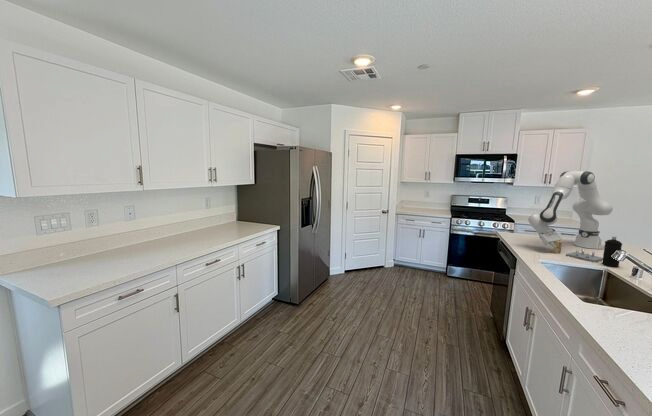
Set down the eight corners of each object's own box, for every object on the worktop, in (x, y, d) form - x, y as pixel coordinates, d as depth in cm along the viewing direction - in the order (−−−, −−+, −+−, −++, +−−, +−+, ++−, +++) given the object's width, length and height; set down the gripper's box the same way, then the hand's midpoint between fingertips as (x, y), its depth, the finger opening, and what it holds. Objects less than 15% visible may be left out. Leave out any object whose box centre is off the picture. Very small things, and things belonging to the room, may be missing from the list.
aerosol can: (616, 268, 176) (620, 238, 174) (599, 264, 183) (603, 236, 181) (621, 266, 180) (625, 237, 177) (604, 262, 187) (608, 234, 185)
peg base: (575, 253, 208) (576, 247, 208) (604, 260, 193) (605, 253, 192) (565, 255, 203) (566, 249, 202) (595, 262, 187) (596, 255, 187)
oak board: (556, 252, 212) (557, 241, 211) (560, 253, 210) (562, 241, 209) (552, 252, 210) (553, 241, 209) (557, 253, 208) (558, 242, 207)
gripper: (541, 231, 210) (554, 246, 202) (555, 229, 218) (569, 243, 211) (534, 235, 214) (547, 250, 207) (548, 233, 223) (561, 247, 215)
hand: (558, 247), depth 209 cm, fingers closed on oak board, 5 cm apart
